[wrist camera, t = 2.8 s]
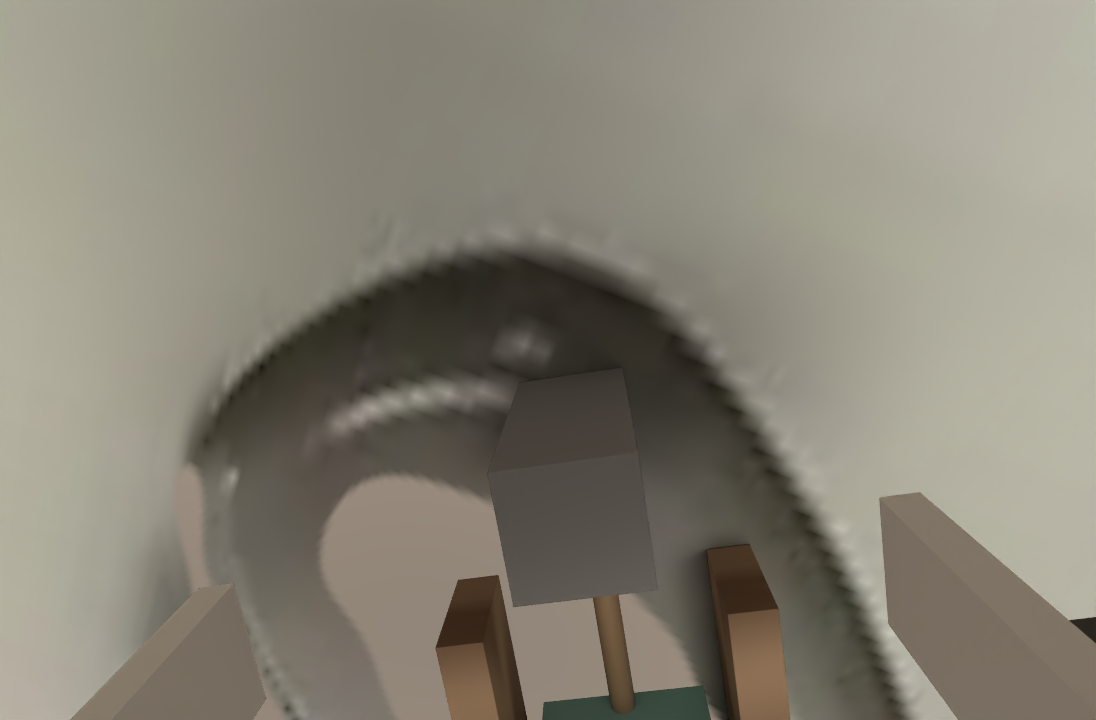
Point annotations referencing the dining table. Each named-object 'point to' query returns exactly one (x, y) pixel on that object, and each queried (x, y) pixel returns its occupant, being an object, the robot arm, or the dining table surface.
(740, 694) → the wooden u-shaped block
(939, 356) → the dining table surface
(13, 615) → the dining table surface
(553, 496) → the cube dumbbell
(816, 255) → the dining table surface
